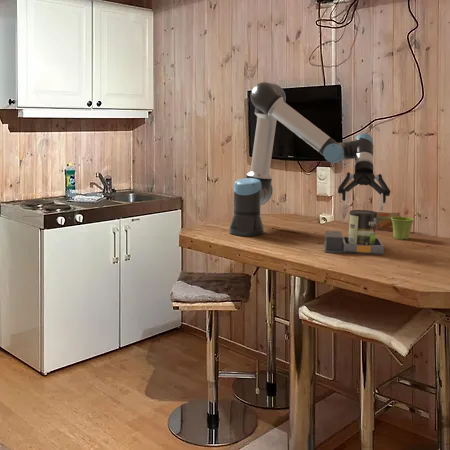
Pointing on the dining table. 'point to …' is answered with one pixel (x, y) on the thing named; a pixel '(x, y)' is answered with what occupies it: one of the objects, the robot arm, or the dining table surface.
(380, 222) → the tin
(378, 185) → the robot arm
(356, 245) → the grey tray
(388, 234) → the dining table surface
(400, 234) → the plant pot
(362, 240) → the coffee can
